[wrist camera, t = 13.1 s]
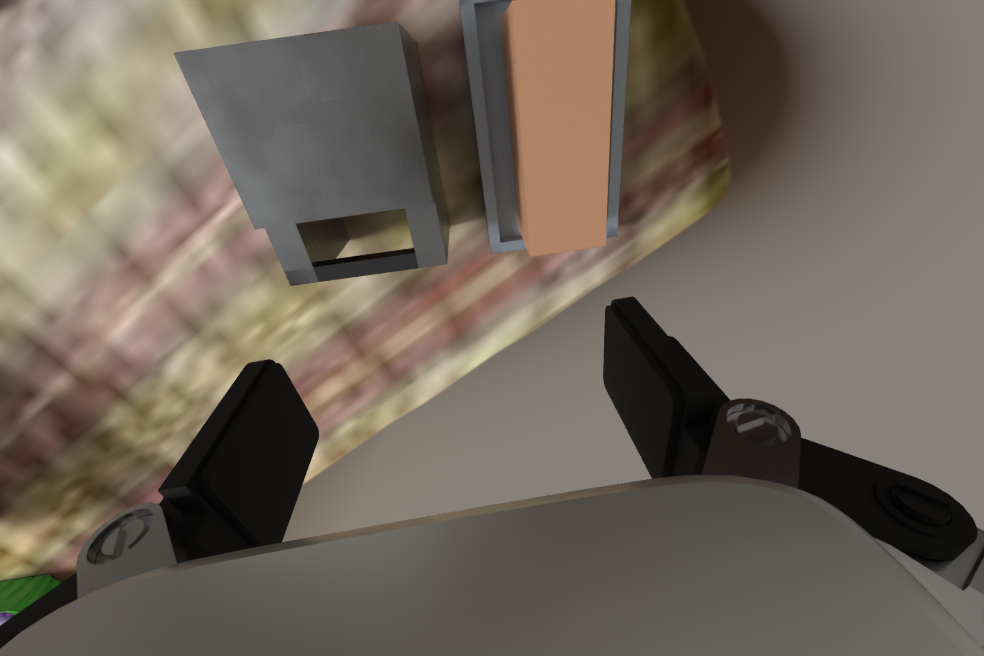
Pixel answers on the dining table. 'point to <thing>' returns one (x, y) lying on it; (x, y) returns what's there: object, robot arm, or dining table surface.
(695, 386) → the robot arm
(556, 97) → the tan rectangular block
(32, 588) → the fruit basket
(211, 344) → the dining table surface
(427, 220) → the dispenser
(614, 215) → the tray
